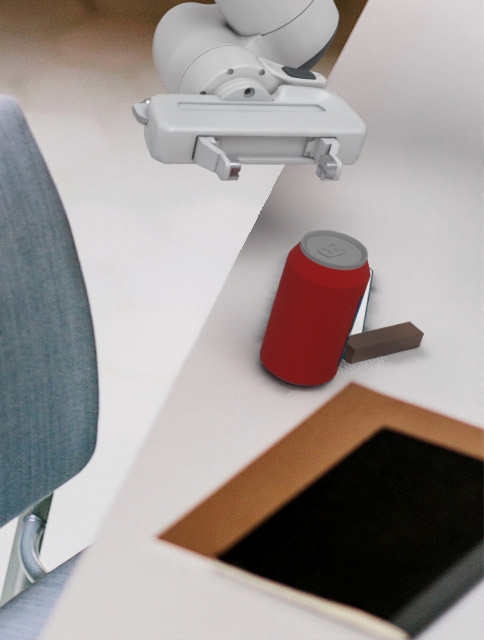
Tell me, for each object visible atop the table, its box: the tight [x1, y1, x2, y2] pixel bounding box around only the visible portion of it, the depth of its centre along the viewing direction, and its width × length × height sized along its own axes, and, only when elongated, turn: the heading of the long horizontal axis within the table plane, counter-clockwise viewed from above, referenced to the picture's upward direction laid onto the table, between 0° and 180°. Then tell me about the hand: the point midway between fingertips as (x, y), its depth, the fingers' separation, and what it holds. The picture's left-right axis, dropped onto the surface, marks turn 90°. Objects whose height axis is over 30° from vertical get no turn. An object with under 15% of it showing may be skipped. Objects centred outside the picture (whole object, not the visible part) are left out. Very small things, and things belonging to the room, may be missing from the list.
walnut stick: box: [344, 321, 425, 364], centre depth 105 cm, size 8×2×2 cm, turn 117°
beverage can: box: [259, 229, 371, 387], centre depth 98 cm, size 7×7×12 cm
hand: (283, 173), depth 103 cm, fingers open, 8 cm apart
